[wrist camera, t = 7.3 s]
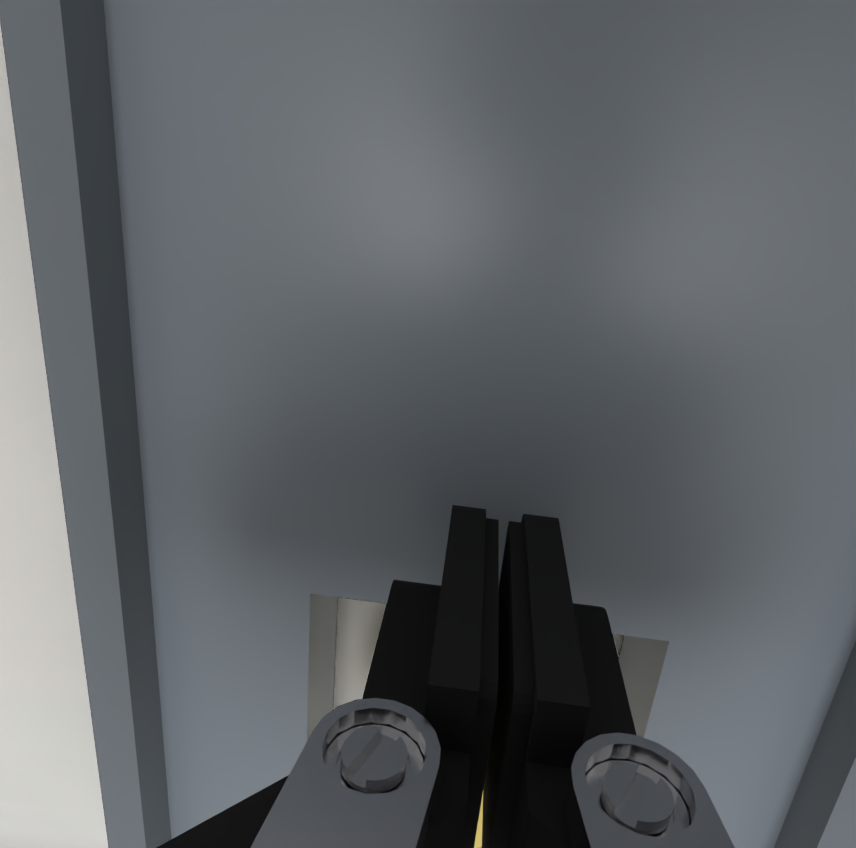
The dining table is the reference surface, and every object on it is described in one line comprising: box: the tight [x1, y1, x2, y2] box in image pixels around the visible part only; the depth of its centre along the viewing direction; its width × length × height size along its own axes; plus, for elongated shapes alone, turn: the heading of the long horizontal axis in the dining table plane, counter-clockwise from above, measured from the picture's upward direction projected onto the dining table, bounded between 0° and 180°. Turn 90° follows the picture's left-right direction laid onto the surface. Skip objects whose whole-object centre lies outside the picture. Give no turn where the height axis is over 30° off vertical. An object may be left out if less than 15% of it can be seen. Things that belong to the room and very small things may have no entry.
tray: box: [0, 0, 856, 848], centre depth 12 cm, size 26×14×4 cm, turn 175°
